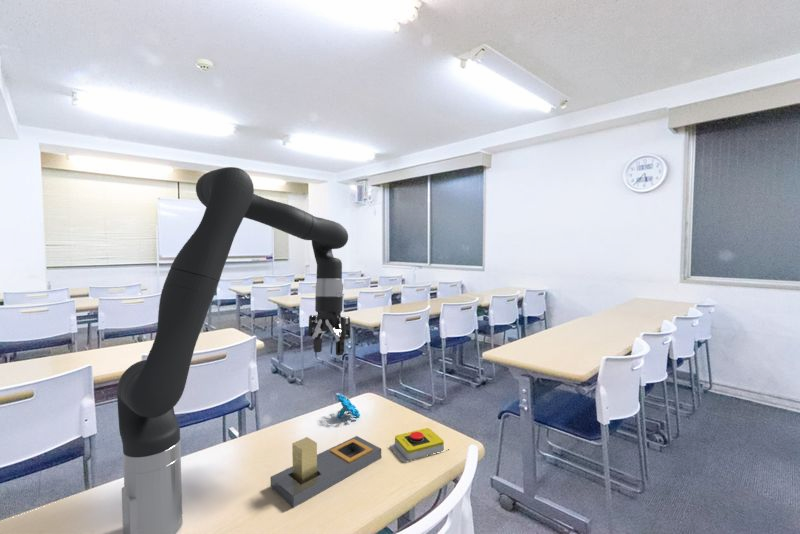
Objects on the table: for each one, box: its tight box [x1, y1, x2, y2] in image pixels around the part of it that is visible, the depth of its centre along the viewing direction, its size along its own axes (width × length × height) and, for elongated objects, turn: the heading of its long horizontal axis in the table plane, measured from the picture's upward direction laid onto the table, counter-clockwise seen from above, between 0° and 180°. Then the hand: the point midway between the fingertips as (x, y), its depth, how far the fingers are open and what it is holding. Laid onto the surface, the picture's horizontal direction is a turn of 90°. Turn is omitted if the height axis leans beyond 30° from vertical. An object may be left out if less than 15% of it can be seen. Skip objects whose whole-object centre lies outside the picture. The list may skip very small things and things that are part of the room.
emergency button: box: [389, 427, 444, 463], centre depth 103 cm, size 9×4×15 cm
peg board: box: [270, 435, 382, 508], centre depth 92 cm, size 26×10×3 cm, turn 137°
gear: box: [336, 393, 361, 419], centre depth 123 cm, size 11×6×10 cm
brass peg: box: [291, 436, 318, 485], centre depth 87 cm, size 4×4×10 cm
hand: (328, 353), depth 103 cm, fingers open, 8 cm apart
